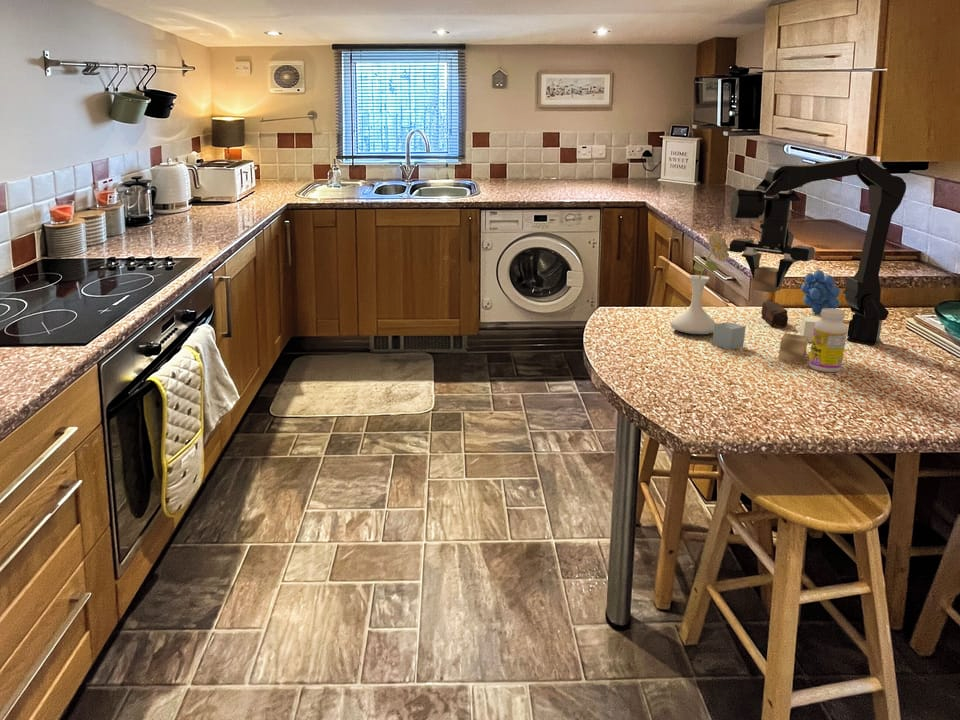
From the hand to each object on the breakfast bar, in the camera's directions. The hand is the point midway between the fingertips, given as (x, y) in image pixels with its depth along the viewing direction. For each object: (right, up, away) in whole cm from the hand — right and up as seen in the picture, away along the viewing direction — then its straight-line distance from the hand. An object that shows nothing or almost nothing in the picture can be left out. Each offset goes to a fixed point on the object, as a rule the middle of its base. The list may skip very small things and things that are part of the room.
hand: (766, 285), depth 210 cm
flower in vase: (-15, -11, +7) cm, 20 cm away
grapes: (+23, -5, +31) cm, 39 cm away
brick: (+8, -8, +20) cm, 23 cm away
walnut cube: (0, -1, 0) cm, 1 cm away
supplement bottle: (+6, -20, -20) cm, 29 cm away
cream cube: (+12, -13, +4) cm, 18 cm away
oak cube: (+1, -18, -13) cm, 22 cm away
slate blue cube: (-11, -15, -5) cm, 19 cm away
